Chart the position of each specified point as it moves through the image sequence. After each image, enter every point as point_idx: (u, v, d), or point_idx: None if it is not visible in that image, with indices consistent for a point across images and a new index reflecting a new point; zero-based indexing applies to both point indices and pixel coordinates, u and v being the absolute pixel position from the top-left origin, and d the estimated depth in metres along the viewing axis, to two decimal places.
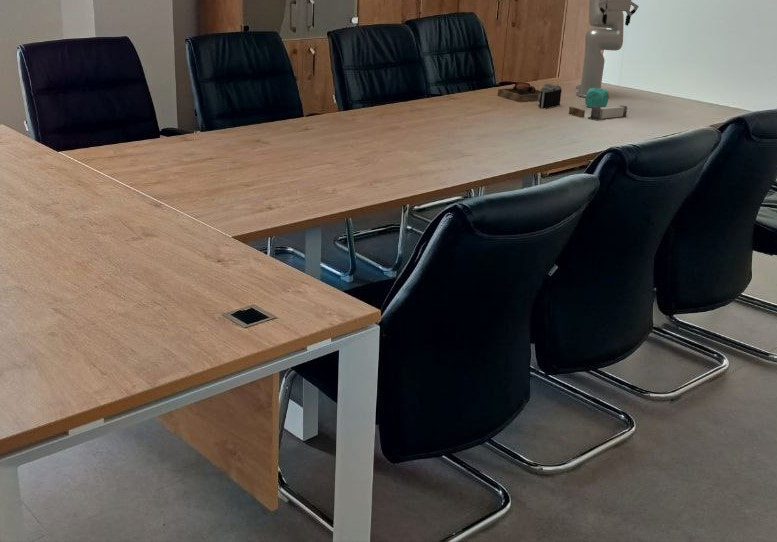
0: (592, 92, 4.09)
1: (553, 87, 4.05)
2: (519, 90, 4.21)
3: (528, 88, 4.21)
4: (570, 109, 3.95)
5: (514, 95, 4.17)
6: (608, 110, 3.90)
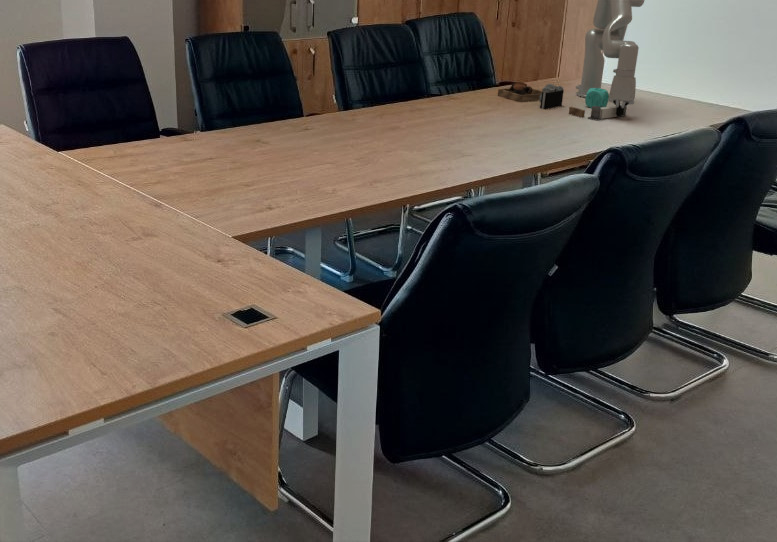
0: (592, 92, 4.09)
1: (554, 88, 4.04)
2: (516, 90, 4.20)
3: (525, 88, 4.20)
4: (570, 109, 3.95)
5: (514, 95, 4.17)
6: (608, 110, 3.90)
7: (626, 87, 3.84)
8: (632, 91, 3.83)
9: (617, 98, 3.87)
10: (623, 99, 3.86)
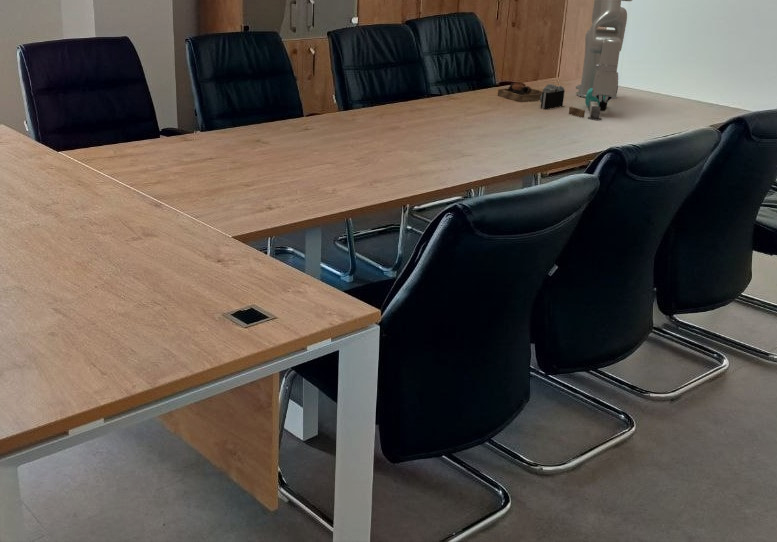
0: (592, 92, 4.09)
1: (555, 88, 4.03)
2: (515, 90, 4.20)
3: (524, 88, 4.20)
4: (570, 109, 3.95)
5: (514, 95, 4.17)
6: None
7: (608, 82, 3.90)
8: (615, 86, 3.90)
9: (600, 93, 3.93)
10: (606, 94, 3.92)
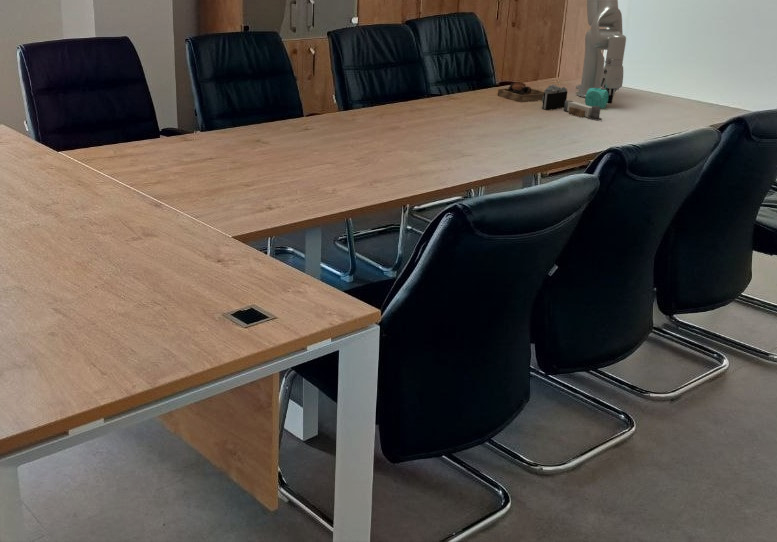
0: (592, 92, 4.09)
1: (557, 89, 4.02)
2: (515, 90, 4.20)
3: (524, 88, 4.20)
4: (570, 109, 3.95)
5: (514, 95, 4.17)
6: None
7: (619, 75, 4.11)
8: (622, 78, 4.14)
9: (613, 86, 4.12)
10: (617, 86, 4.13)
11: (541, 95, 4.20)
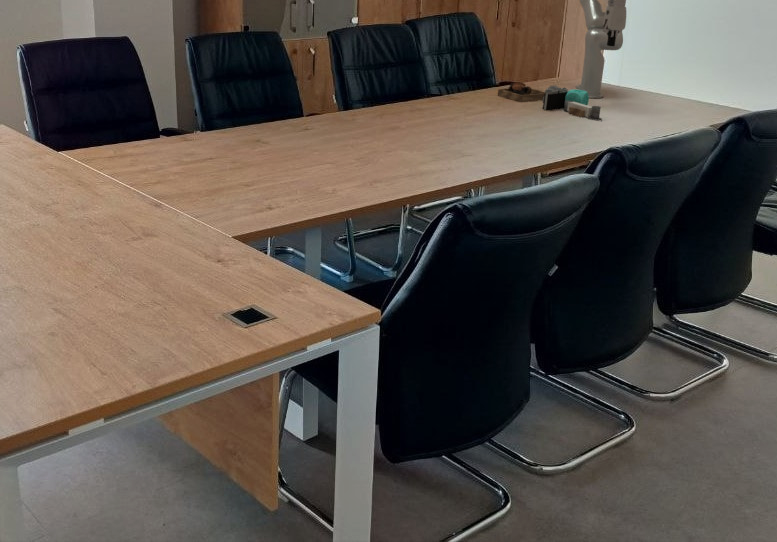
0: (571, 94, 4.02)
1: (558, 89, 4.00)
2: (515, 90, 4.20)
3: (524, 88, 4.20)
4: (570, 109, 3.95)
5: (514, 95, 4.17)
6: None
7: (622, 16, 4.01)
8: (625, 19, 4.04)
9: (616, 28, 4.02)
10: (620, 28, 4.03)
11: (541, 95, 4.20)
